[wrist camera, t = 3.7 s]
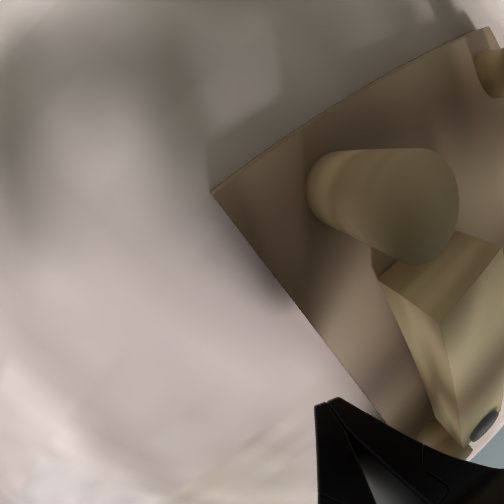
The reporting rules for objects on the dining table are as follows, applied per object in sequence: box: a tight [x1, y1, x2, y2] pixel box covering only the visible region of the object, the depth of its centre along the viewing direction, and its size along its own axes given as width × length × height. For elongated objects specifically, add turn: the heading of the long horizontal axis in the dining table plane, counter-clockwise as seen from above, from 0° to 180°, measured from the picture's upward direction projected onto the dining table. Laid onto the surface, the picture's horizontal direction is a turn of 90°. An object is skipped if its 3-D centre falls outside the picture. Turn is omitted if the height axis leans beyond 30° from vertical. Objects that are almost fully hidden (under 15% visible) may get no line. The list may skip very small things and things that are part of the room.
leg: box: [377, 230, 504, 448], centre depth 9 cm, size 12×3×3 cm, turn 36°
